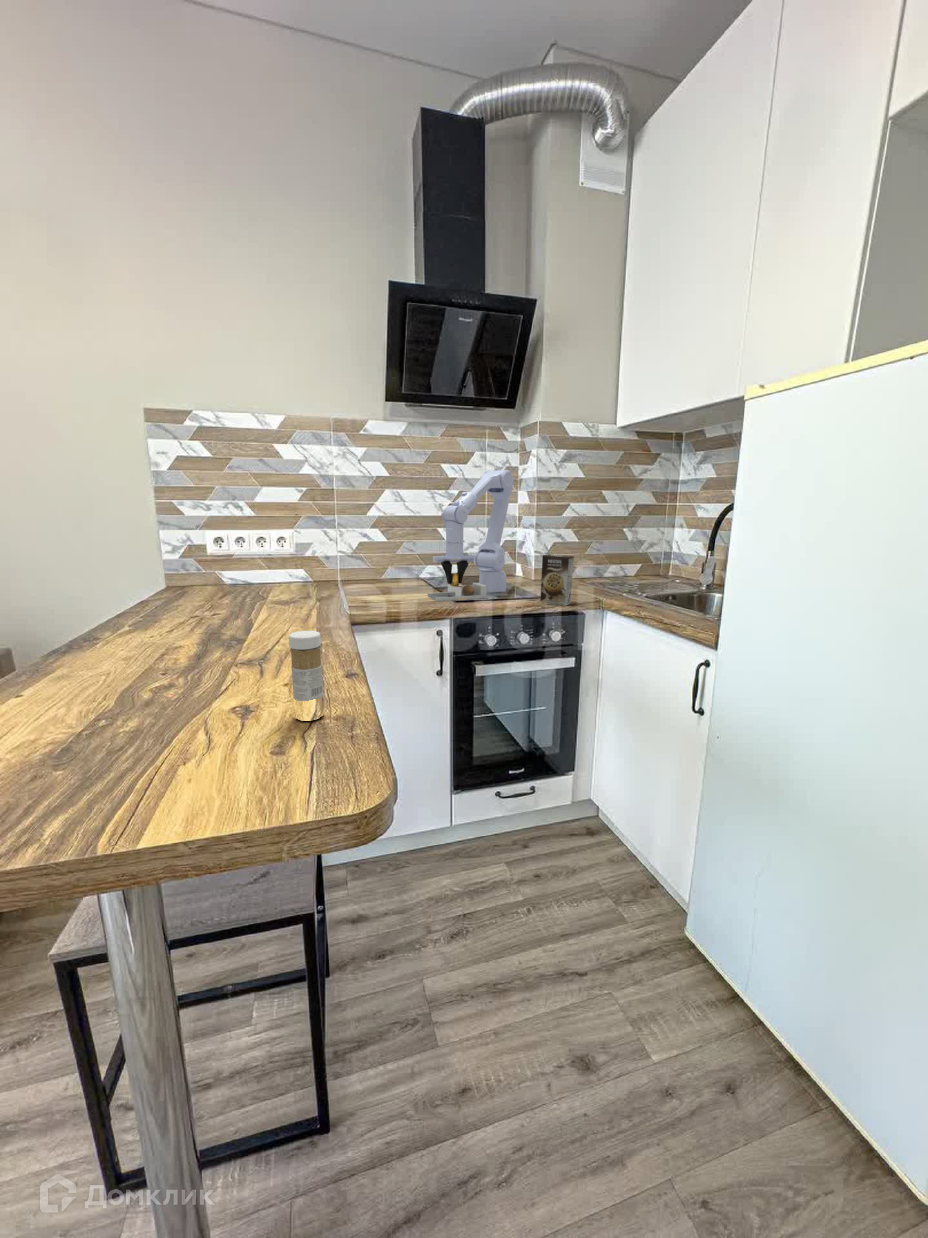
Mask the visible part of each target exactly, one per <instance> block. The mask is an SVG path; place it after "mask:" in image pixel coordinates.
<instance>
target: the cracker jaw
mask: <svg viewBox="0 0 928 1238" xmlns="http://www.w3.org/2000/svg"><path fill="white" fill-rule="evenodd" d="M451 580H452V581H451V584H448V583H447V592H448V595H450V596H451V597H458V596H461V591H462V586H460V584H459V573H458V572H451Z"/></svg>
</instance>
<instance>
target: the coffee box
mask: <svg viewBox="0 0 928 1238" xmlns="http://www.w3.org/2000/svg"><path fill="white" fill-rule="evenodd" d="M541 560H542V562H541V582H540V600H539V601H541V602H543V603H545V604H548V605H554V606H561V607H563V606H564V607H567V606H568V605H570V604H571V603H572V602H571V601H572V590H573V589H572V587H573V573H574V572H573V571H574V560H575V556H574V555H563V554H543V555H542V559H541Z"/></svg>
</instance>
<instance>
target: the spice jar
mask: <svg viewBox="0 0 928 1238" xmlns="http://www.w3.org/2000/svg"><path fill="white" fill-rule="evenodd" d="M321 645H322V639H321V633H320V632H318V631H316V630H299V631H295V632H291V633H290V634H289V635H288V647H289V650H290V656H291V657H290V659H291V679H292V681H291V682H292V696H293V700H294V699H295V700H297V701H309V700H313V699H318V698H321V697H322V696H323V697H324V689H323V688H324V687H323V669H322V668H323V666H322V660H321V658H322V657H321Z"/></svg>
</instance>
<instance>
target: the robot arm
mask: <svg viewBox="0 0 928 1238" xmlns="http://www.w3.org/2000/svg"><path fill="white" fill-rule="evenodd" d="M514 481H515V480H514V477H513V474H512V472H511V471H510V470H508V469H502V470H485V471H484V472H483V473H482V474H481V475H480V479H479V480H478V482H477V483H476V484H475V485H474V487H472V489H471V490H470V491H462V493H461V495H460V496H459V498H457V500H454V501H453V503H452V504H451V505H447V506H446V507H445V508H444V509H443V512H442V514H441V517H442V520H443V522H444V528H445V555H435V556H434V555H433V556H432V563H435V564H436V563H440V565H441V567H442V569H443V571H444V574H445V578H446V583H447V585H448V584H451V581H452V580H451V573H453V572H452V570H453V563H455V562H456V568H457V571H456V572H457V573H459V585H462V581H463V578H464V575H465V573H466V570H467V568H468V567H469V562H474V565H475V566H476V568H477V570H478V571H479V573H478V575H479V576H478V577H479V579H478V580H479V581H478V583H480V584H483V585H485V586H486V593H499V592H500V593H503V592H507V574H506V572H505V570H502V569H503V568H504V565H505V563H506V561H505V554H506V551H505V548H503V547H502V546H501V542H502V539H503V538H502V537H503V536H502V535H503V532H504V528H505V523H506V518H507V513H508V509H509V505H510V504H509V503H510V499H511V495H512V491H513V486H514ZM485 493H488V494H489V496H491V497H492V498H493V504H492V508H491V509H492V510H491V513H490V518H489V523H488V528H487V533H486V537H485V542H483V543H482V544H481V545H480V546H479V547H478V549H477V552H476V554H474V555H473V554H471V555H469V554H464V523H465V522H467V520H468V516H469V514H470V512H471V511H472V510H473V509H474V508H475V507H476V506H478V499H480V497H482V496H483V495H484V494H485Z"/></svg>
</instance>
